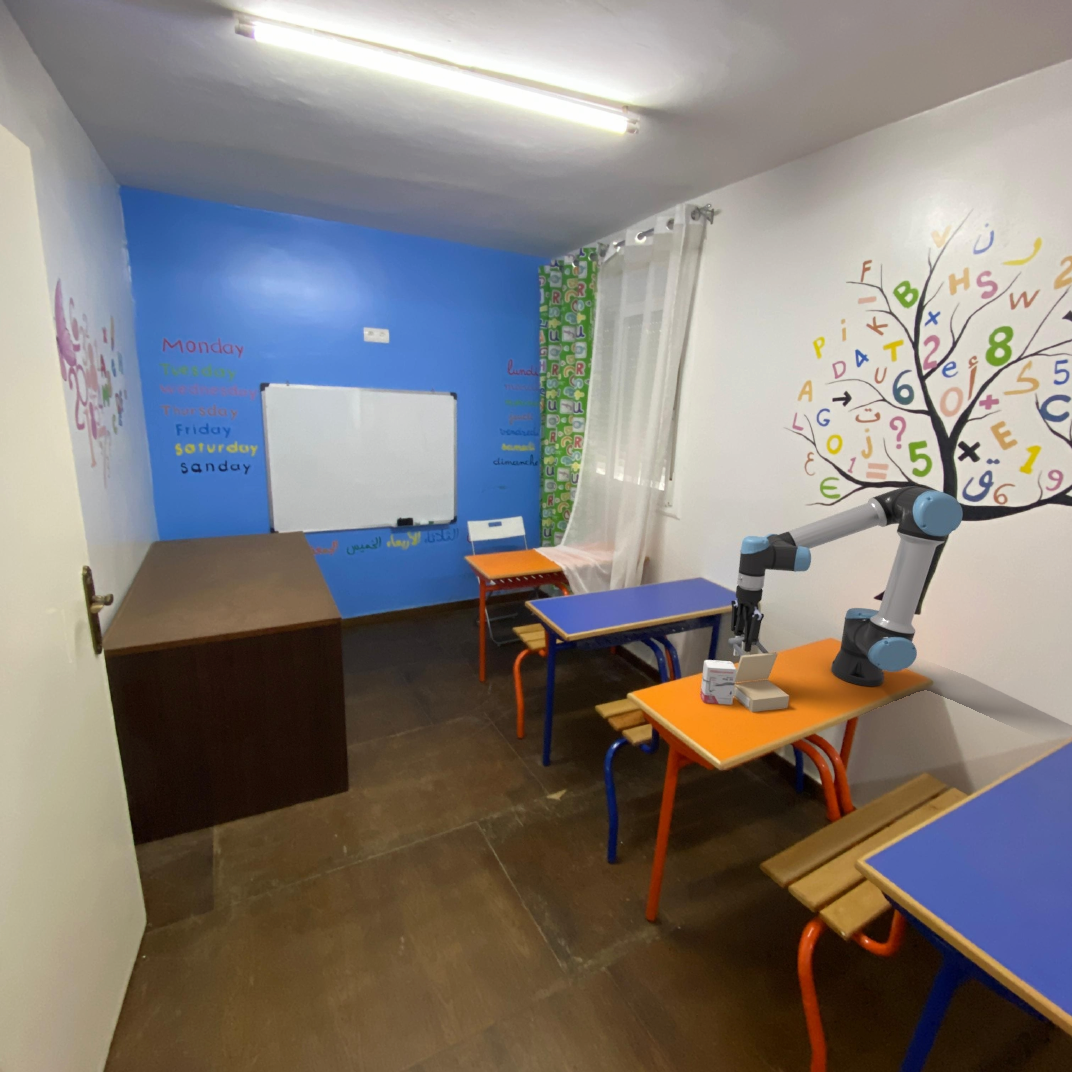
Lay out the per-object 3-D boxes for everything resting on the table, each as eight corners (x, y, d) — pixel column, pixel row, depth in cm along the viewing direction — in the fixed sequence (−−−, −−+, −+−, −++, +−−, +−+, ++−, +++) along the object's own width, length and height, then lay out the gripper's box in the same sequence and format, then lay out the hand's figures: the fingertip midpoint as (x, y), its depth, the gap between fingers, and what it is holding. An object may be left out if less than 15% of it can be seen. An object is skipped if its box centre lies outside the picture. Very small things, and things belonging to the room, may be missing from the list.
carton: (765, 690, 167) (767, 679, 166) (787, 707, 158) (789, 695, 157) (731, 694, 164) (732, 683, 163) (751, 712, 155) (752, 700, 154)
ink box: (703, 703, 159) (706, 666, 156) (699, 695, 164) (703, 659, 161) (732, 705, 158) (737, 668, 156) (728, 696, 163) (732, 661, 160)
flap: (768, 678, 166) (750, 657, 174) (777, 654, 161) (759, 633, 169) (733, 682, 163) (717, 660, 171) (742, 657, 158) (725, 636, 166)
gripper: (724, 579, 170) (716, 647, 175) (755, 595, 155) (745, 670, 160) (744, 578, 172) (736, 646, 177) (777, 594, 157) (767, 668, 162)
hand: (740, 657), depth 169 cm, fingers closed on flap, 3 cm apart
